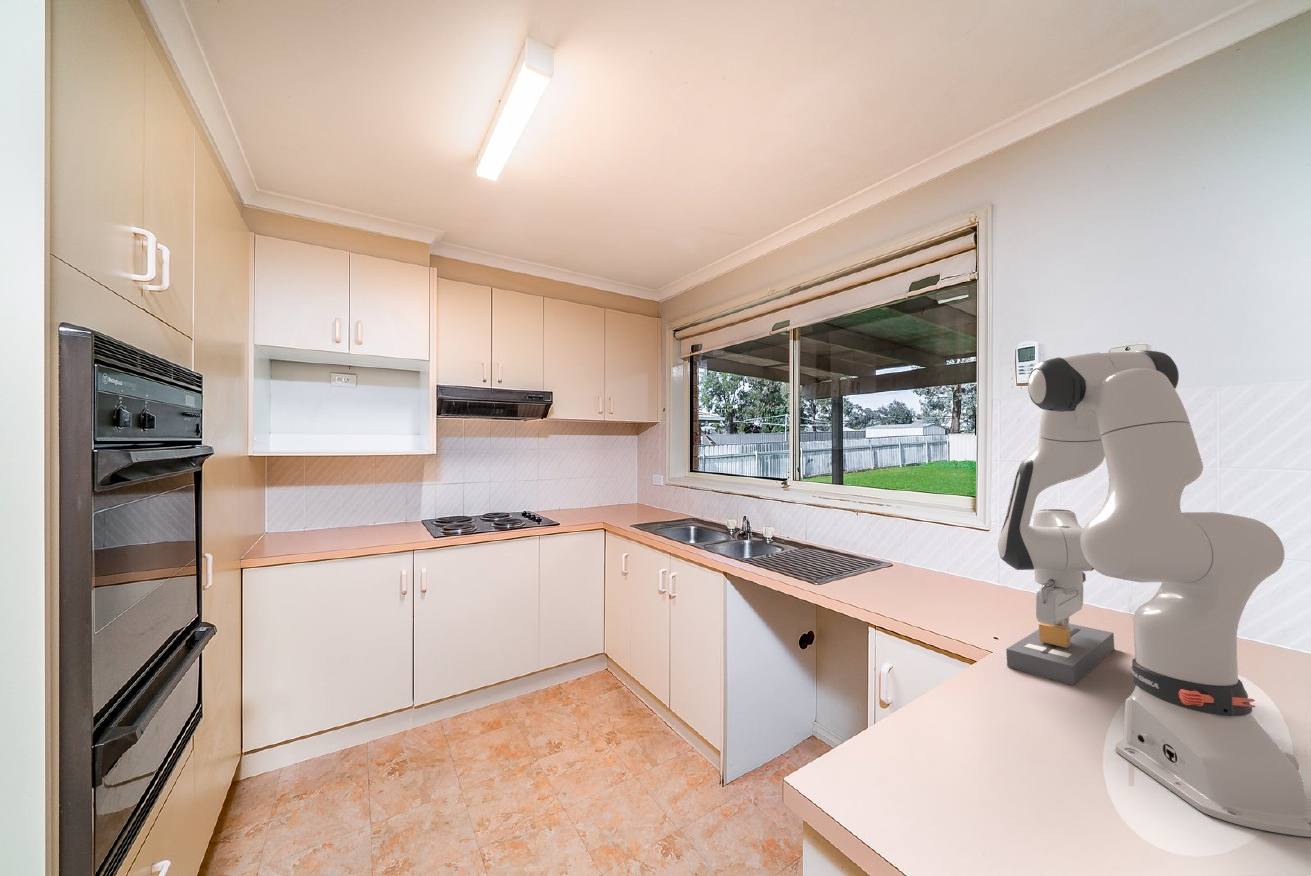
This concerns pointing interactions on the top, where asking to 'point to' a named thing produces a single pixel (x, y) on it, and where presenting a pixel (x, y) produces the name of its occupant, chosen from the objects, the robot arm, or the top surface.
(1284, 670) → the top surface
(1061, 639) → the fader knob
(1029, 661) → the fader console
